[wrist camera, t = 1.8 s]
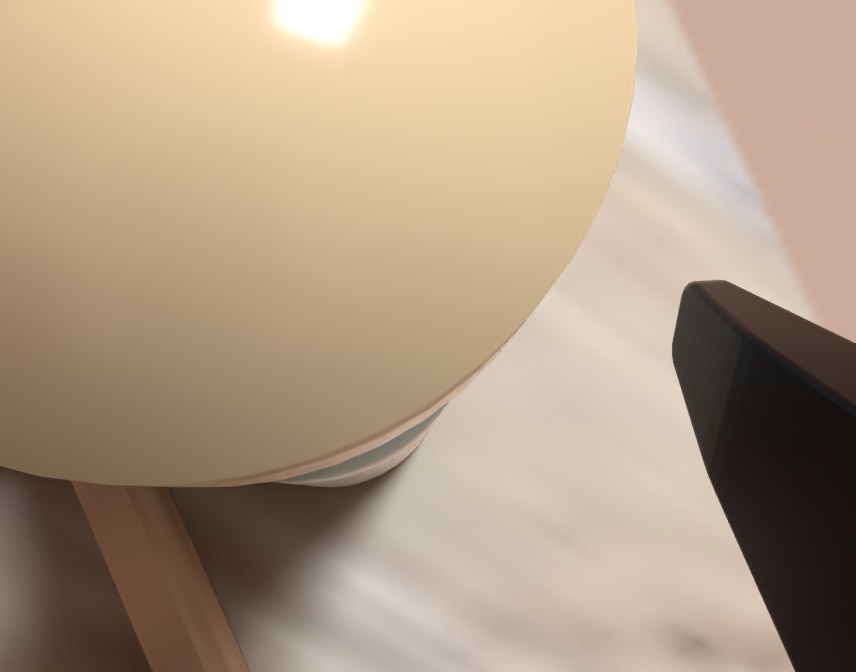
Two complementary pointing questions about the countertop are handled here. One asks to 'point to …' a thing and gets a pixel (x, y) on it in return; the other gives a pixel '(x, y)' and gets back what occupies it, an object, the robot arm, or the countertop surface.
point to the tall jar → (283, 222)
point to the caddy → (160, 578)
